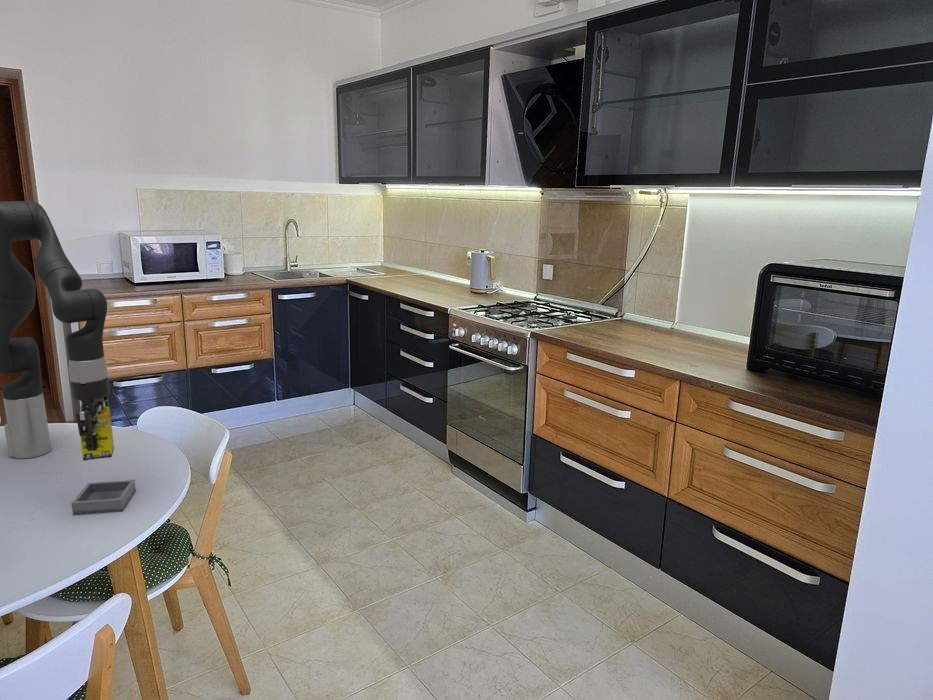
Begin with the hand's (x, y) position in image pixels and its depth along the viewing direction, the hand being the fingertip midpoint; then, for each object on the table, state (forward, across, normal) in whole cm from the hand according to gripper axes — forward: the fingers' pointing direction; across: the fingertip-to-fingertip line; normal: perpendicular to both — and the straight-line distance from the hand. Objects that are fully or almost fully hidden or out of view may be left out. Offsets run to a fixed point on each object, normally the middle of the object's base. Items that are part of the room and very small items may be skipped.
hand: (97, 443), depth 150 cm
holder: (+15, 0, 0) cm, 15 cm away
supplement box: (+3, 0, 0) cm, 3 cm away
